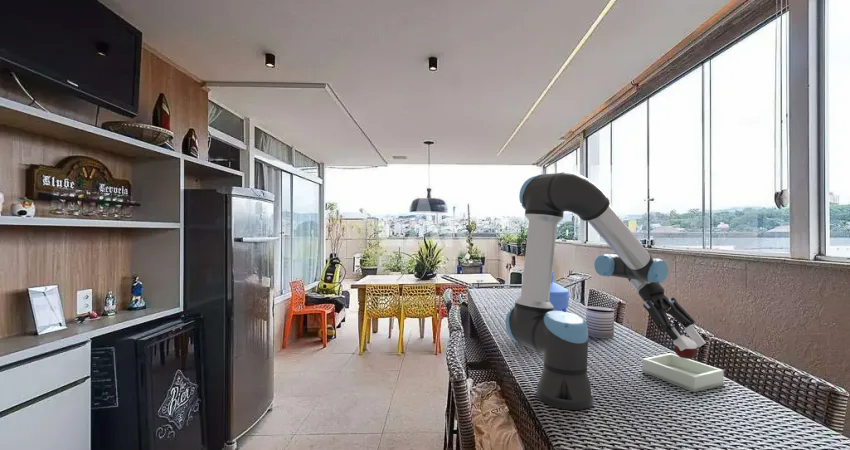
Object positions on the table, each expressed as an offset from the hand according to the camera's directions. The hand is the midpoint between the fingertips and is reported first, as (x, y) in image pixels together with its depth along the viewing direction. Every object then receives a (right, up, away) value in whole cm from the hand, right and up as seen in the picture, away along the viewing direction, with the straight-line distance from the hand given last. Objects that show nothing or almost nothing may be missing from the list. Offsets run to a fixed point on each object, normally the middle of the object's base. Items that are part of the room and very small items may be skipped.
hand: (693, 346), depth 128 cm
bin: (-2, -11, +3) cm, 12 cm away
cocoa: (-1, -4, +3) cm, 6 cm away
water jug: (-32, -10, +44) cm, 55 cm away
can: (-8, -10, +51) cm, 53 cm away
